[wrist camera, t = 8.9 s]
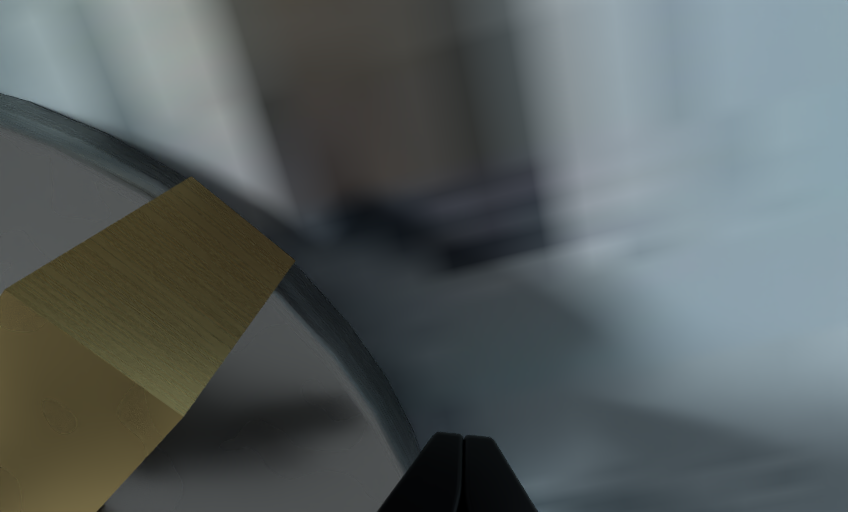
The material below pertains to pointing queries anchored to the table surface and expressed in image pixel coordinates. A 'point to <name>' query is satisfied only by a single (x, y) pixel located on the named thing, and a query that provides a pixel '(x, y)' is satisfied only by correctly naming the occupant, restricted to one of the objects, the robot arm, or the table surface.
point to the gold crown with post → (122, 344)
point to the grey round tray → (242, 368)
